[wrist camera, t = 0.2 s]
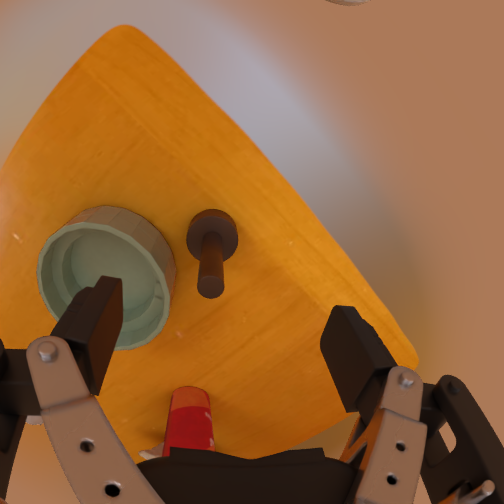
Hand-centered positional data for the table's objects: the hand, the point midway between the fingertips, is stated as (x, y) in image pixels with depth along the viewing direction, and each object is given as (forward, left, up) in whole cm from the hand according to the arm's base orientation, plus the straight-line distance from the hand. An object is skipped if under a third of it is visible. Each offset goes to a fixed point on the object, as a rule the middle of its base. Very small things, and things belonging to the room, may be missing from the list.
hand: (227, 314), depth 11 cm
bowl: (+11, -11, -22) cm, 27 cm away
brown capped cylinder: (+5, 0, -22) cm, 22 cm away
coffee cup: (+33, 0, -22) cm, 40 cm away
